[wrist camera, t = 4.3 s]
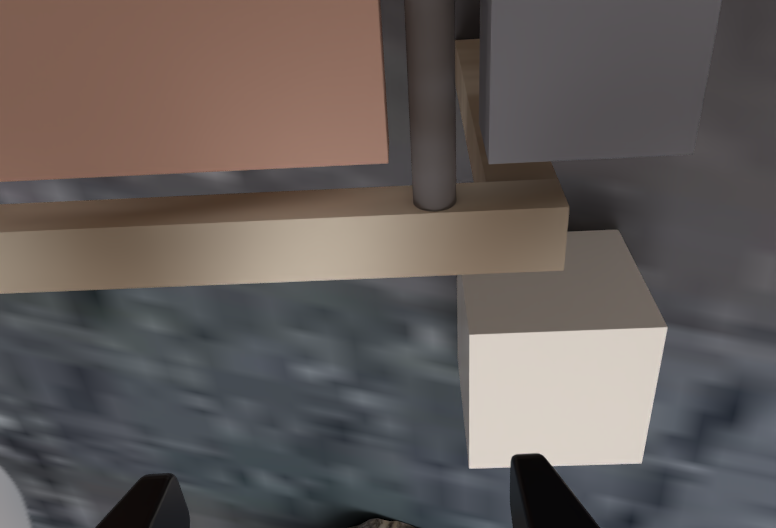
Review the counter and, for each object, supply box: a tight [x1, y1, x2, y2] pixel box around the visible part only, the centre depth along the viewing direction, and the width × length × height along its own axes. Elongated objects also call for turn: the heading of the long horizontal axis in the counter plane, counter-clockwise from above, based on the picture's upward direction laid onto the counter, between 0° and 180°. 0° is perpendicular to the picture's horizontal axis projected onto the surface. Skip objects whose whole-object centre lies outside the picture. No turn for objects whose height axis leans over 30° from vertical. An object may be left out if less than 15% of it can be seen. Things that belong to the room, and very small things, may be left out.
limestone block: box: [457, 230, 667, 469], centre depth 22 cm, size 5×5×5 cm
